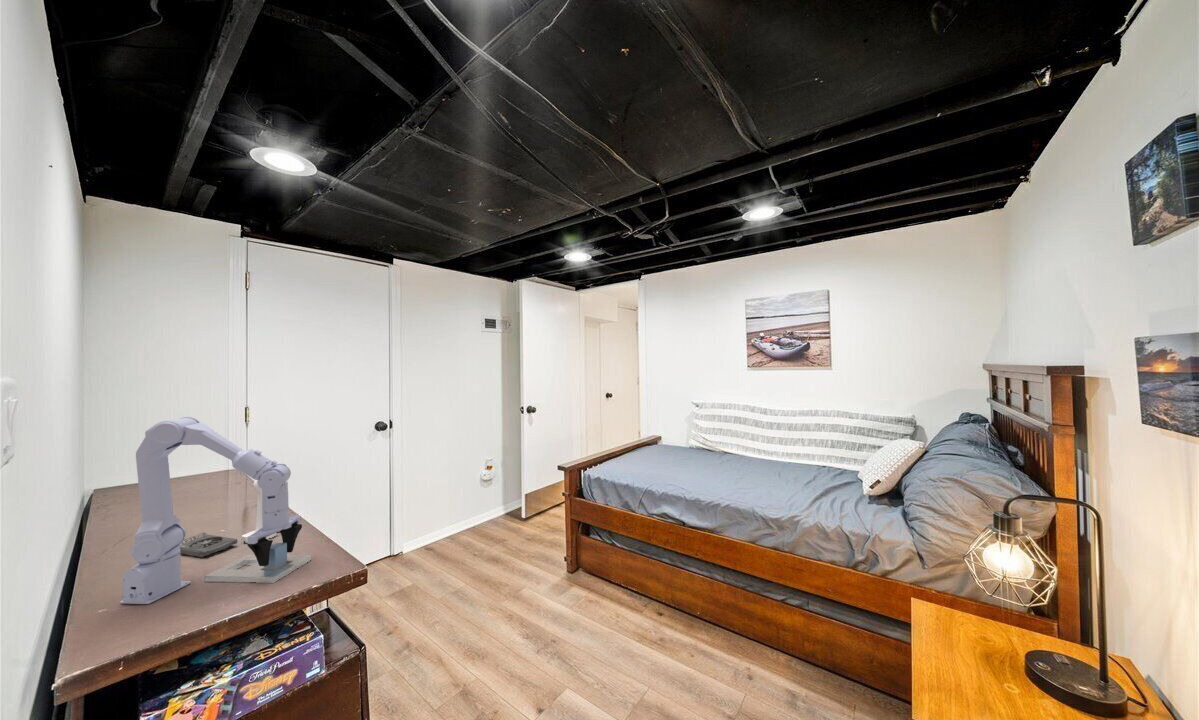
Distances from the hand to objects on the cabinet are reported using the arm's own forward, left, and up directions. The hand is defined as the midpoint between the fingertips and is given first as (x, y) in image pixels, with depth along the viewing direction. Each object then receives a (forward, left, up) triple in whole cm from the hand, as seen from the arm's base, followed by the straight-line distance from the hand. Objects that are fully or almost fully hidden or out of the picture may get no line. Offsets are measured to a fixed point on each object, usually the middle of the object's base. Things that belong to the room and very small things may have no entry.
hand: (276, 558), depth 111 cm
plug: (0, 0, -3) cm, 3 cm away
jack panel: (0, +5, -3) cm, 6 cm away
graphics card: (+10, +36, -4) cm, 38 cm away
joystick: (+21, +24, -4) cm, 32 cm away
